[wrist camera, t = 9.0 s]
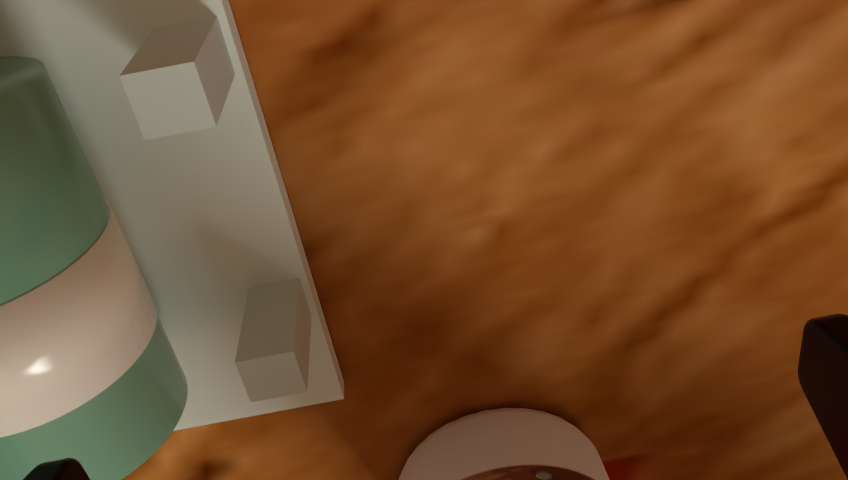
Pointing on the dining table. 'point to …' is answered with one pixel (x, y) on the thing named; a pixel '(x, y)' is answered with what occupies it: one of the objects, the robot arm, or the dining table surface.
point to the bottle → (71, 303)
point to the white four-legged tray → (190, 192)
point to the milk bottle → (506, 449)
